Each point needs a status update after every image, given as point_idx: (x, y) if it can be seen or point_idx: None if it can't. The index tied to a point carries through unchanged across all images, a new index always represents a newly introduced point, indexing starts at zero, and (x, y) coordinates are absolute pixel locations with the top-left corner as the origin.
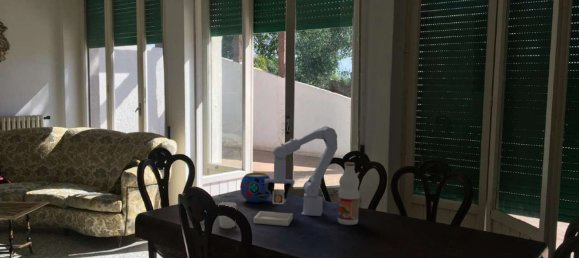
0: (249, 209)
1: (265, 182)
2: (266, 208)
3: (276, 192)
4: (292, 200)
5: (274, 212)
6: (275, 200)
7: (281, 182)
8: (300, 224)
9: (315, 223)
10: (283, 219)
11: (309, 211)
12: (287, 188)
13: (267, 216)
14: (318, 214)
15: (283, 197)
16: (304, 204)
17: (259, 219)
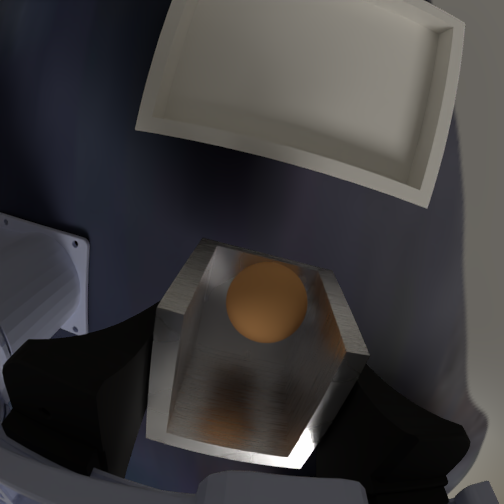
0: (433, 366)
1: (484, 490)
2: None
3: (281, 424)
4: (178, 490)
5: (305, 160)
6: (301, 282)
7: (164, 491)
8: (115, 3)
9: (31, 50)
10: (226, 66)
11: (31, 238)
12: (70, 345)
13: (359, 157)
14: (3, 227)
15: (188, 267)
16: (36, 286)
17: (422, 4)
